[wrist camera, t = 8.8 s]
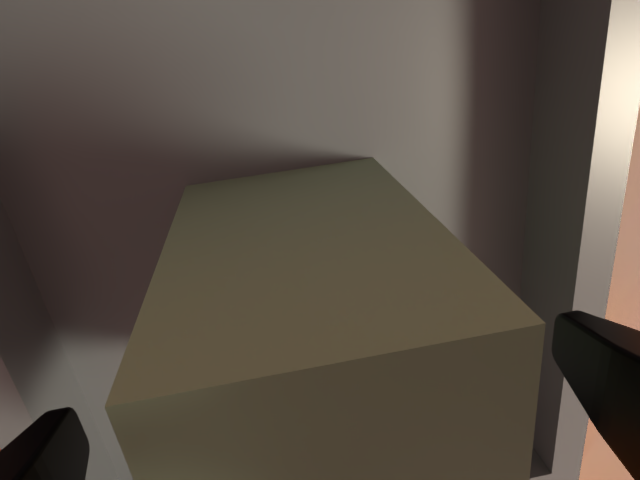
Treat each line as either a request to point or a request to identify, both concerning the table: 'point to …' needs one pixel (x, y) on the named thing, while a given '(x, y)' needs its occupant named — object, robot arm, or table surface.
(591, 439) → the table surface
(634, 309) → the table surface
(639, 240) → the table surface
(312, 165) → the bin
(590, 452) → the table surface
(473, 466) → the green block
